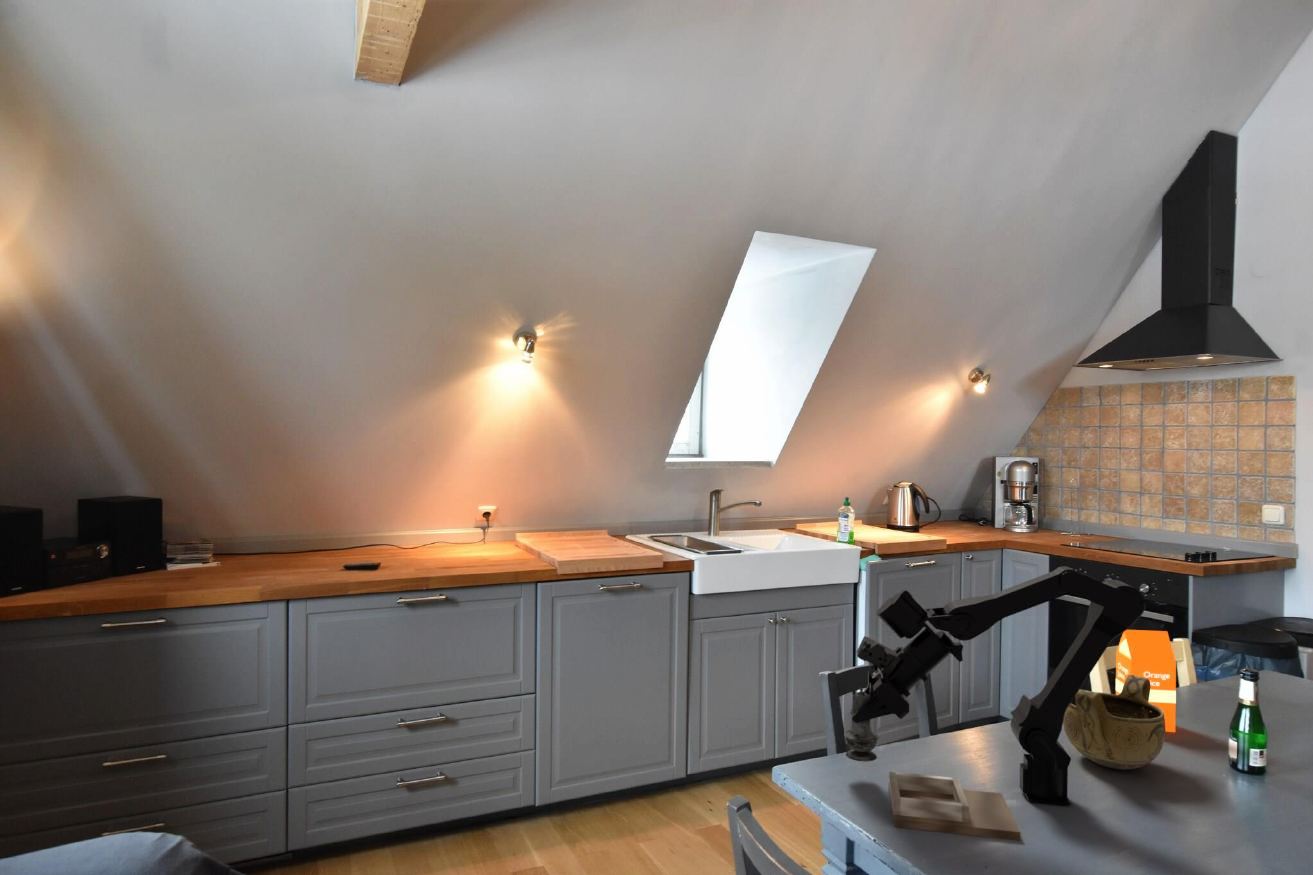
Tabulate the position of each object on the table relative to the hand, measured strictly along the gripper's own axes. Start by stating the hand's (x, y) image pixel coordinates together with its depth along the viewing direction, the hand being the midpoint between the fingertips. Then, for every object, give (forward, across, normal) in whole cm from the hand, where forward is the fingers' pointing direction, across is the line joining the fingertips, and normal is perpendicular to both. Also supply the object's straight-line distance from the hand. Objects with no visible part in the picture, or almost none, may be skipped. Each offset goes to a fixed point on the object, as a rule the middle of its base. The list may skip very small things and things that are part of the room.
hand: (853, 717), depth 144 cm
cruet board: (-3, +10, +18) cm, 21 cm away
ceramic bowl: (-25, -19, +41) cm, 52 cm away
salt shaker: (+4, 0, +6) cm, 7 cm away
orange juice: (-35, -44, +51) cm, 76 cm away
